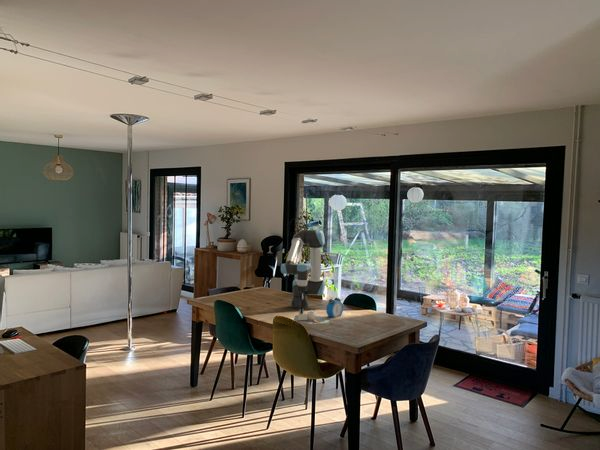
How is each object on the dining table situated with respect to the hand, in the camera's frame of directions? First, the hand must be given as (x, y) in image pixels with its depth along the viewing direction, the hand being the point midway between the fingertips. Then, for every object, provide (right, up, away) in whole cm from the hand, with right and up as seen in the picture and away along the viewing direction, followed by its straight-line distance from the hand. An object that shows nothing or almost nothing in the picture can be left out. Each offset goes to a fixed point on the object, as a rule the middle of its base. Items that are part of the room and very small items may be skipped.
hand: (301, 317), depth 334 cm
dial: (+6, -2, -5) cm, 8 cm away
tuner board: (+7, -3, 0) cm, 8 cm away
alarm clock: (+25, -3, +13) cm, 28 cm away
